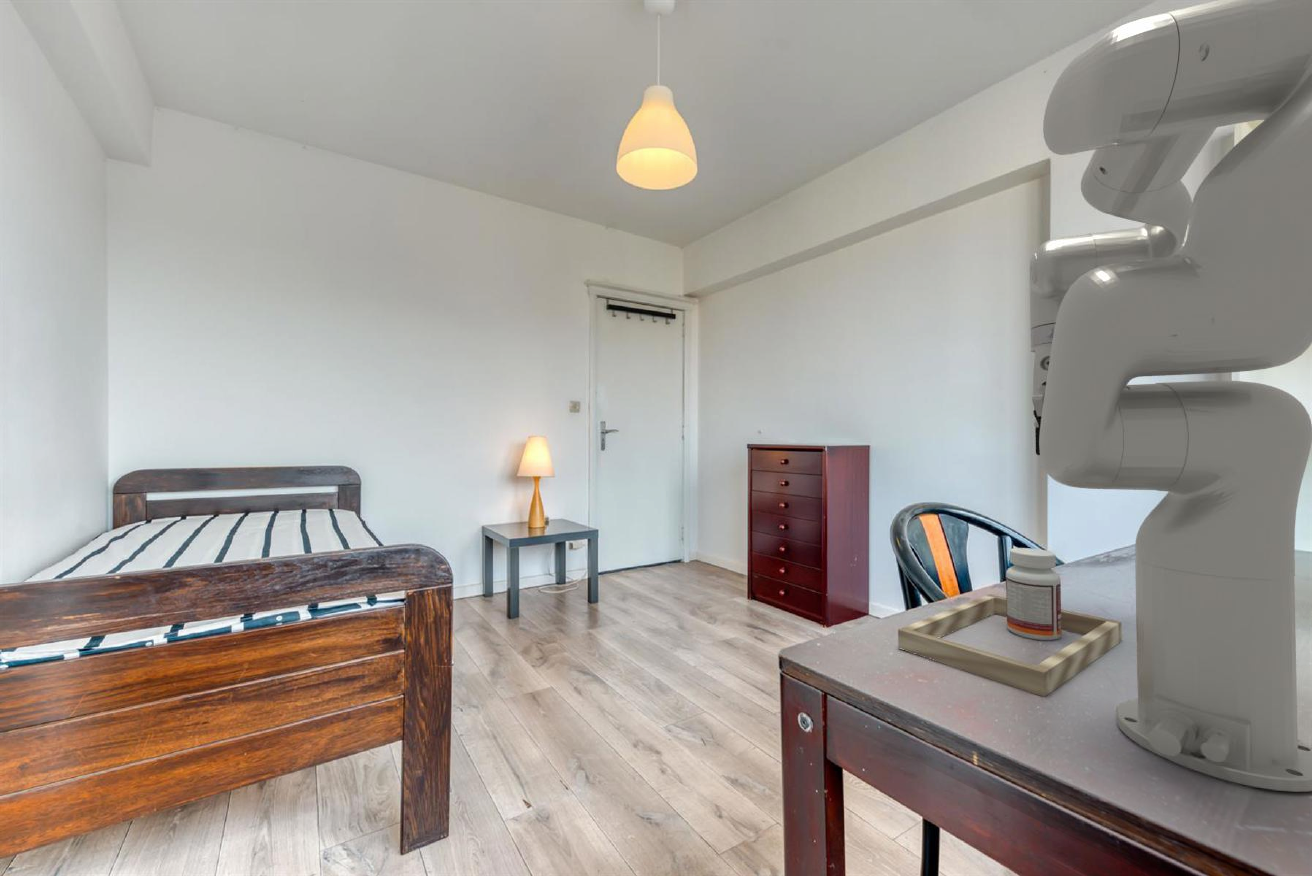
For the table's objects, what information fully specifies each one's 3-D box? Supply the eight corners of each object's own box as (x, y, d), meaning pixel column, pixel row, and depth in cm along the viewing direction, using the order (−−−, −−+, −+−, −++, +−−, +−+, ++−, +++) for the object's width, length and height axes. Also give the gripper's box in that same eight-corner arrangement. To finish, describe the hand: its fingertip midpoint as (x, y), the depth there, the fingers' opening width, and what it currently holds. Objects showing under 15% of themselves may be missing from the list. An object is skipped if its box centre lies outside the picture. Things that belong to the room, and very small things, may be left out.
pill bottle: (1031, 624, 77) (1030, 545, 77) (1073, 639, 71) (1072, 554, 71) (995, 627, 76) (994, 548, 76) (1035, 643, 70) (1034, 557, 70)
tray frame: (1044, 696, 55) (1044, 672, 55) (898, 648, 68) (898, 629, 68) (1121, 640, 70) (1121, 621, 70) (989, 610, 83) (989, 594, 83)
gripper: (1068, 328, 71) (1070, 456, 71) (1114, 340, 80) (1116, 453, 80) (1006, 337, 77) (1008, 455, 77) (1056, 348, 86) (1058, 453, 86)
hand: (1063, 454), depth 78 cm, fingers open, 9 cm apart
